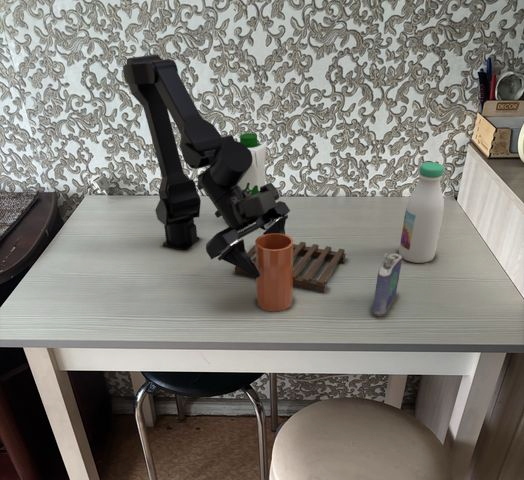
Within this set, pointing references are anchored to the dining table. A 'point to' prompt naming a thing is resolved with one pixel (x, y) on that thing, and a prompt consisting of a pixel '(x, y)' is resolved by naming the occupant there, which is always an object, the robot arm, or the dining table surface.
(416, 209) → the milk bottle
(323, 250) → the drying rack
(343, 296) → the dining table surface
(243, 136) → the milk carton
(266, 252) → the tumbler
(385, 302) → the flask
